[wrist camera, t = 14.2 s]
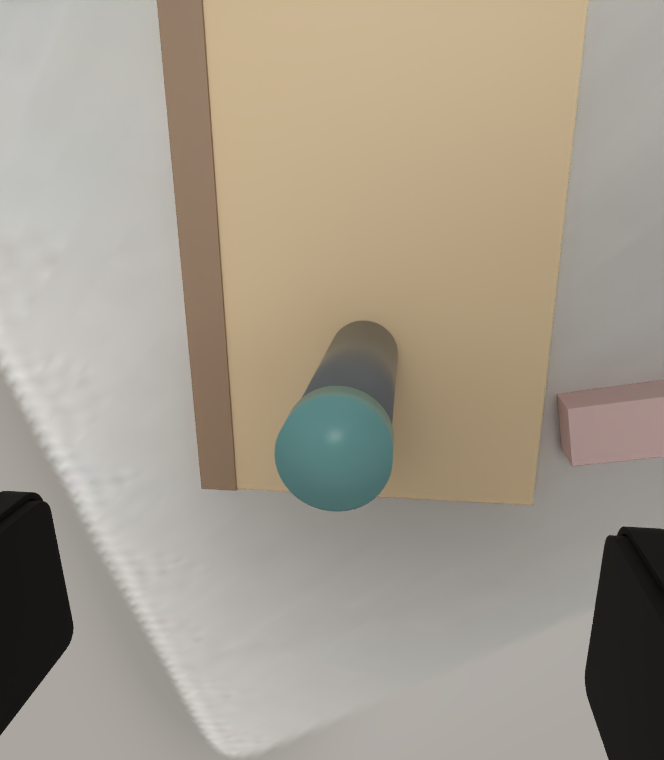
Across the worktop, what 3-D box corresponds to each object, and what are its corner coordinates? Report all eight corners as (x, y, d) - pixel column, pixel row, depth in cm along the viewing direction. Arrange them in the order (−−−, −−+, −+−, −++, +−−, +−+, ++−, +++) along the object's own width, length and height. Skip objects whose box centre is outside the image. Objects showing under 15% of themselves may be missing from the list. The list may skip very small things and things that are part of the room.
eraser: (683, 375, 28) (707, 391, 26) (684, 431, 29) (708, 451, 26) (555, 392, 29) (567, 408, 27) (560, 445, 30) (572, 466, 27)
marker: (400, 319, 28) (394, 404, 16) (398, 388, 29) (391, 514, 17) (327, 317, 28) (271, 400, 17) (328, 386, 29) (276, 507, 18)
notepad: (586, -25, 23) (593, -34, 22) (529, 497, 30) (533, 507, 30) (165, 0, 25) (156, -8, 24) (207, 480, 33) (201, 488, 32)
